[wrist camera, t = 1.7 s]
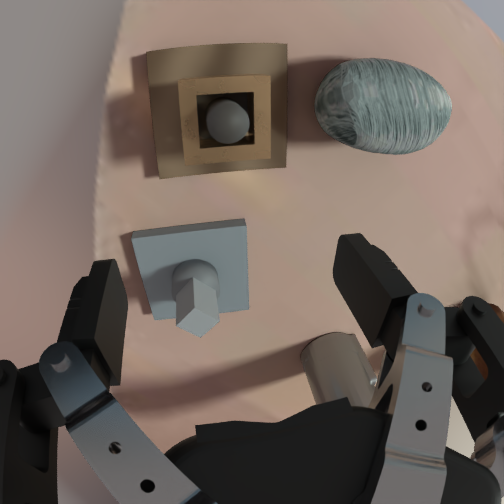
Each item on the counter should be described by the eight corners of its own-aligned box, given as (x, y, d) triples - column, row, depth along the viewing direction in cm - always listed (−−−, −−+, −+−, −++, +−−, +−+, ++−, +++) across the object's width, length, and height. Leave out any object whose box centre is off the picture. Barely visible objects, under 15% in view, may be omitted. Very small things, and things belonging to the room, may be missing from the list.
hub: (244, 218, 34) (259, 266, 27) (247, 301, 40) (259, 352, 34) (133, 231, 32) (120, 282, 25) (155, 311, 39) (152, 364, 32)
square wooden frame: (261, 73, 22) (270, 75, 20) (262, 148, 26) (270, 158, 23) (179, 79, 21) (177, 80, 19) (185, 154, 25) (185, 165, 22)
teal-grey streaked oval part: (306, 164, 28) (384, 143, 19) (288, 71, 26) (353, 23, 17) (401, 161, 33) (472, 150, 24) (385, 85, 31) (449, 61, 22)
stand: (282, 44, 24) (316, 39, 17) (282, 162, 31) (310, 197, 24) (148, 52, 22) (130, 48, 15) (161, 173, 29) (151, 213, 22)
